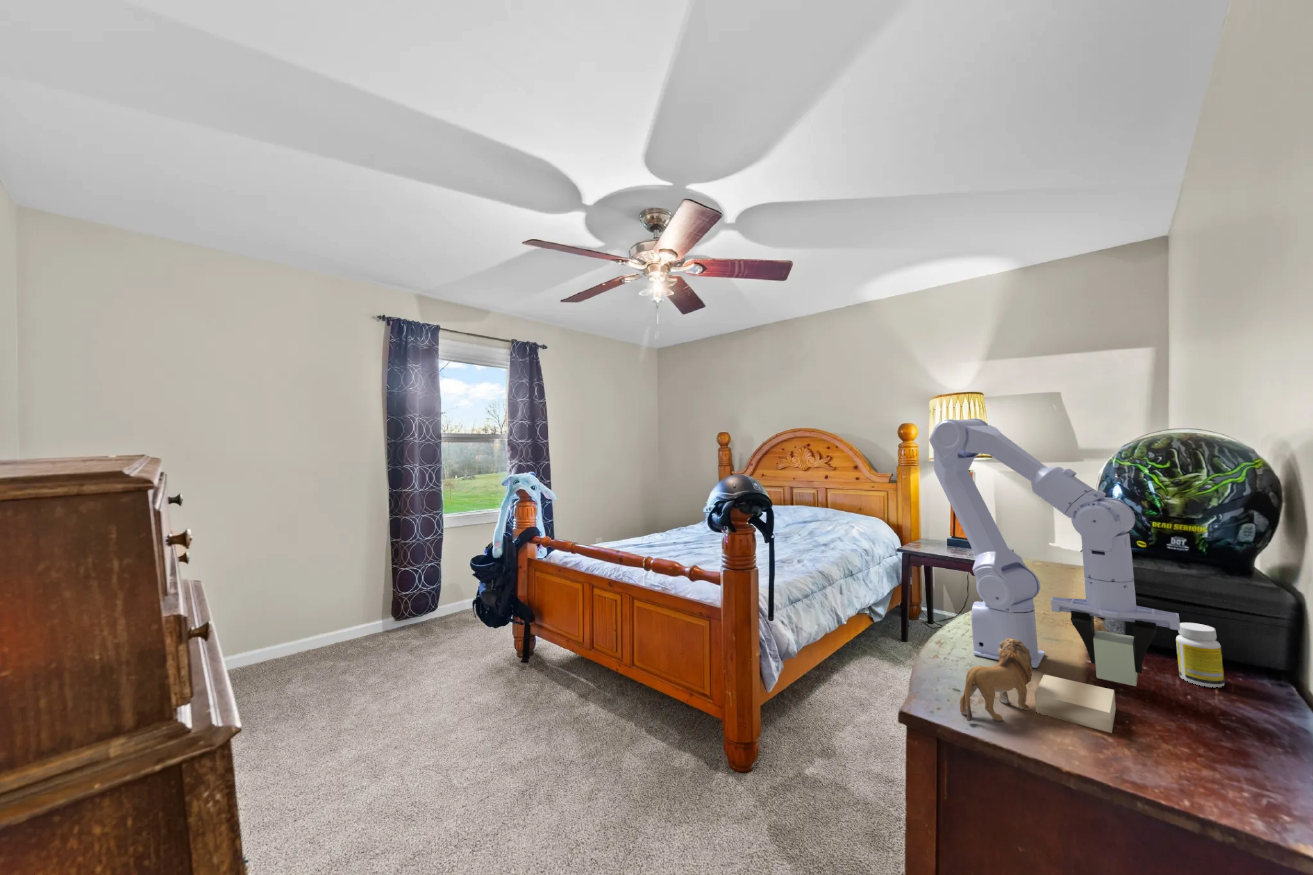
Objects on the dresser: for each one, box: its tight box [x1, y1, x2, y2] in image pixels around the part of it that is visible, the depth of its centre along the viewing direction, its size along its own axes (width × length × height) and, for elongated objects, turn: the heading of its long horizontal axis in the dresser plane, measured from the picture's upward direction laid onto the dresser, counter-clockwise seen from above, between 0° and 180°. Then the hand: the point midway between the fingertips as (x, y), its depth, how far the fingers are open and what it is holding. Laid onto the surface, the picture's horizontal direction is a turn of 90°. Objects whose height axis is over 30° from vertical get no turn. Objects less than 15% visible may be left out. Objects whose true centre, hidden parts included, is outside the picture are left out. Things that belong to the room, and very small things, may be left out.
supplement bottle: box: [1175, 622, 1225, 689], centre depth 77 cm, size 5×5×8 cm
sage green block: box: [1093, 630, 1138, 687], centre depth 76 cm, size 4×4×6 cm
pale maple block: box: [1034, 674, 1117, 734], centre depth 70 cm, size 8×8×3 cm
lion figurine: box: [959, 638, 1033, 722], centre depth 72 cm, size 15×5×9 cm, turn 118°
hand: (1116, 666), depth 76 cm, fingers closed on sage green block, 4 cm apart
